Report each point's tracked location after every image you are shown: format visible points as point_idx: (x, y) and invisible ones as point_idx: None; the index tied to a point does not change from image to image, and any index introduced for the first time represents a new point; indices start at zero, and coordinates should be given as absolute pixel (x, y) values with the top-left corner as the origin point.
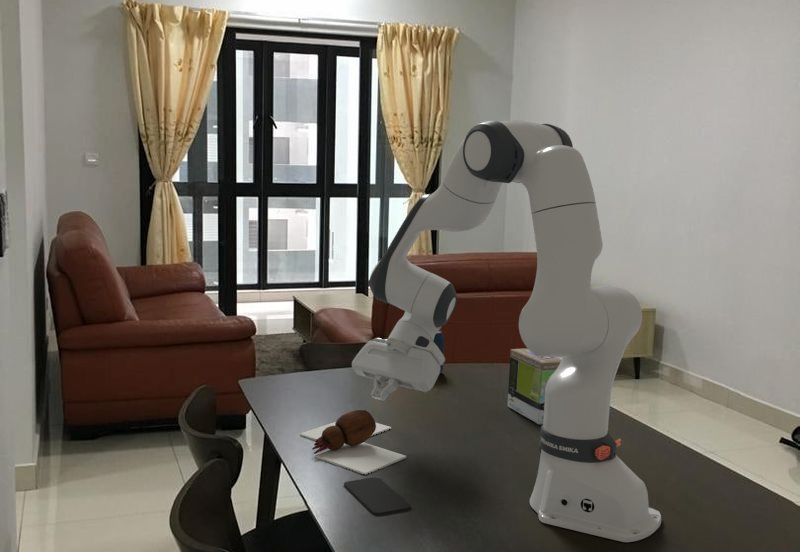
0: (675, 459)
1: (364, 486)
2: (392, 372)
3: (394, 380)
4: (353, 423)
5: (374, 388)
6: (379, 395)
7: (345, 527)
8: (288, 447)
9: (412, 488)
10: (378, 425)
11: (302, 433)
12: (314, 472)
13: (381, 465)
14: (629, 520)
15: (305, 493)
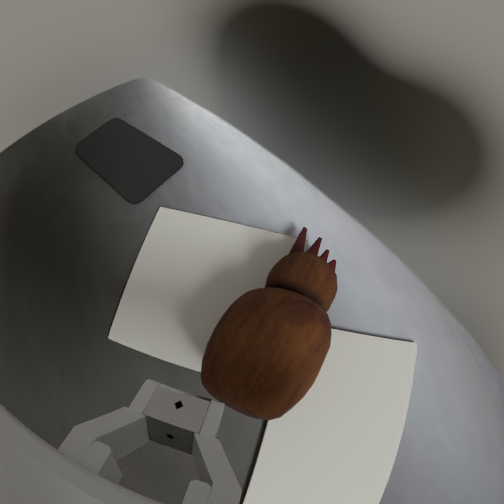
0: None
1: (145, 163)
2: (54, 481)
3: (61, 447)
4: (253, 304)
5: (208, 430)
6: (159, 385)
7: (143, 92)
8: (387, 267)
9: (75, 202)
10: None
11: (414, 347)
12: (259, 180)
13: (140, 256)
14: None
15: (226, 122)
